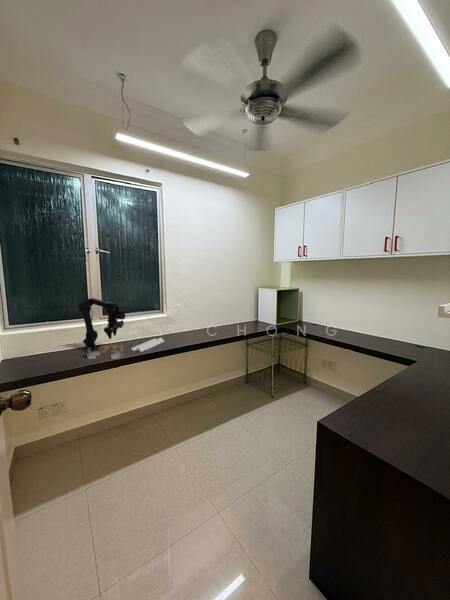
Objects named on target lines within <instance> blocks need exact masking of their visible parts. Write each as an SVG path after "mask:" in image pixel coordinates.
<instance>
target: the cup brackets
mask: <svg viewBox="0 0 450 600" xmlns="http://www.w3.org/2000/svg"><path fill="white" fill-rule="evenodd" d="M97 356H101V353H100V351H99V350H91V347H89V348H88V350H87V359H89V360H92V359H95V360H96V359H97ZM123 356H124V346H123V347H121V348H120V351H115V353H111V355H110V357H111V359H112V360H113V359H116V360H117V359H120V358H122V357H123Z"/></svg>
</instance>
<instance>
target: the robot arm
mask: <svg viewBox="0 0 450 600" xmlns="http://www.w3.org/2000/svg"><path fill="white" fill-rule="evenodd" d="M93 305H95V306H99V307H103V308H104V309H105V313H106V314H107V320H106V321H107V326H106V327H104V328H103V332H104V333H105V334H106V336H107V338H108V339H109V340H112V337H115V336H117V333H118V329H122V327H124V325H125V322H124V320H125V319H126V313H125V312H124V310H120V308H119V306H118V305H117V303H116V302H115V301H114V302H113V301H109V302H108V301H104V300H101V299H97V298H95V297H92V298H88V299H87V300H84V301H83V302H80V303H79V304H78V309H79V312H80V313H81V314H82V316H83V320H84V324H85V330H86V332H85V338H84V340H82V342H83V344H84V345H85V346H84V347H85V349H84V351H88V348H89V347H91V351H95V349H96V348H97V347H96V341H97V339H98V331H97V330H95V329H94V326H93V322H92V321H93V320H92V316H91V310H92V308H91V307H92V306H93ZM118 320H120V321H118ZM113 335H114V336H113Z"/></svg>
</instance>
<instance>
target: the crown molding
mask: <svg viewBox="0 0 450 600" xmlns="http://www.w3.org/2000/svg"><path fill="white" fill-rule="evenodd" d="M164 342H165V340H164V339H163V338H162V337H160V338H153V339H151V340H148V341H145V342H143V343H141V344H138V345H135V346H133V347H131V348H130V349H129V350H130V351H134V352H140V353H143V352H145V351H146V350H149V349H151V348H153V347H155V346H157V345H159V344H162V343H164ZM144 350H145V351H144ZM142 351H143V352H142Z"/></svg>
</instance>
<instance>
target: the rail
mask: <svg viewBox="0 0 450 600" xmlns="http://www.w3.org/2000/svg"><path fill="white" fill-rule="evenodd" d="M121 347H123V348H124V345H100V346H98V349H97V350H98V351H100V354H115V351H120V348H121Z"/></svg>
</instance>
